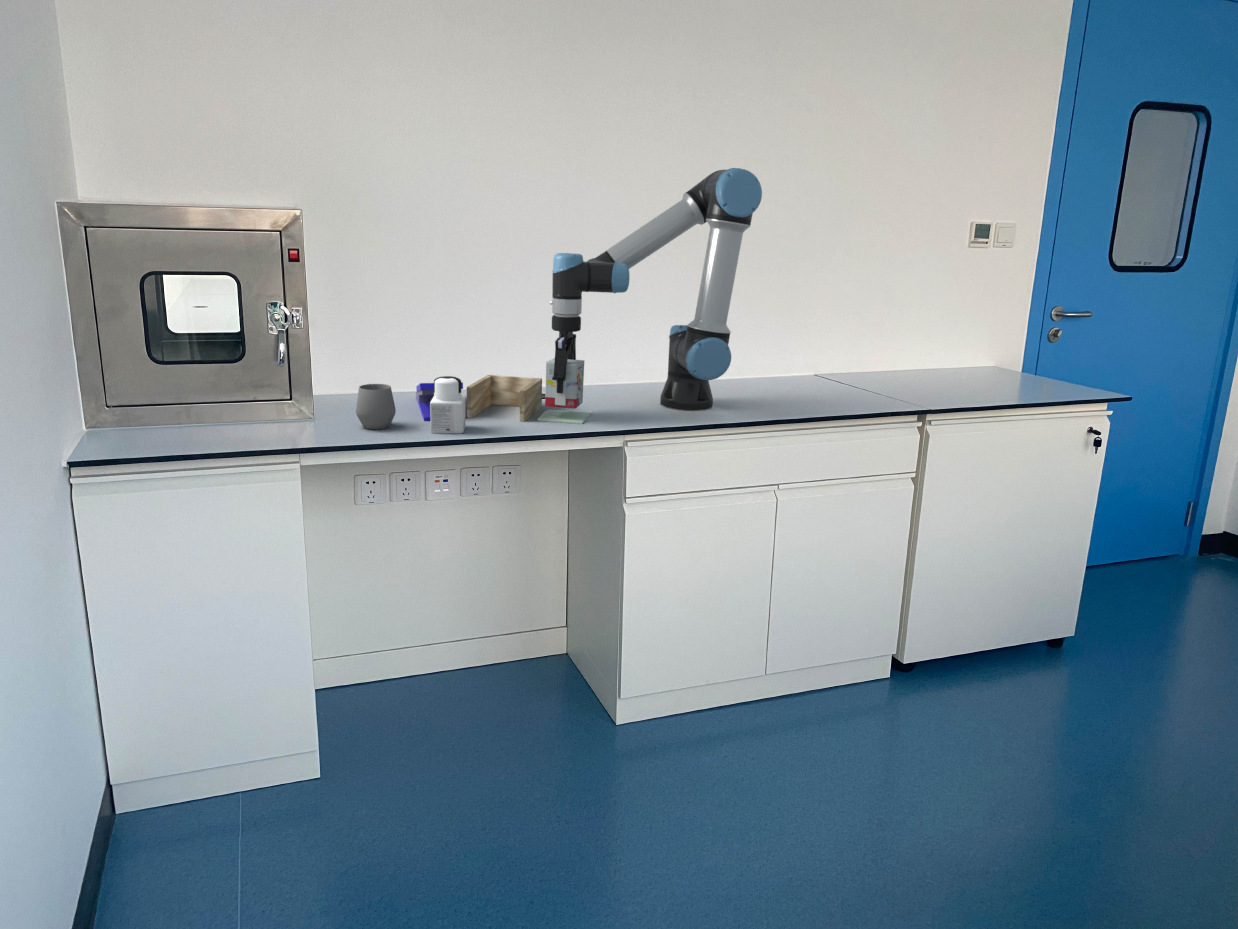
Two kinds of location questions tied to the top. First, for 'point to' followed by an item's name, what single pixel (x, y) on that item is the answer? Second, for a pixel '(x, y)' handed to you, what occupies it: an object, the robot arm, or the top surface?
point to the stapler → (426, 398)
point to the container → (447, 406)
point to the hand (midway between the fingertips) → (564, 401)
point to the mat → (564, 416)
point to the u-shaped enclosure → (505, 394)
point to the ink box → (572, 384)
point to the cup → (375, 406)
